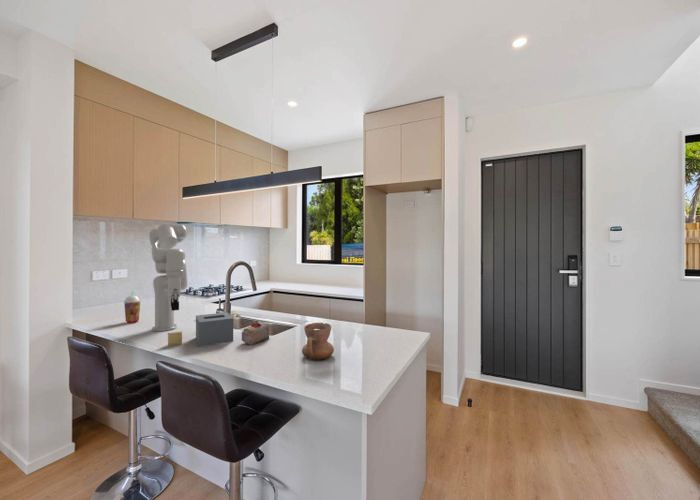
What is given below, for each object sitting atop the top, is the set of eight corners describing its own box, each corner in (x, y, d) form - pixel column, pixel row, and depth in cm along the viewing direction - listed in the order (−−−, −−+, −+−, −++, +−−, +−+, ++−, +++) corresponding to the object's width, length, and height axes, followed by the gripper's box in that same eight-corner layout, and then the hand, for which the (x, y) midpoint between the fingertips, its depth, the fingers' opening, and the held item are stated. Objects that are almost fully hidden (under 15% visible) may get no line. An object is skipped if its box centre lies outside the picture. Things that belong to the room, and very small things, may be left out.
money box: (195, 337, 161) (195, 315, 161) (227, 333, 170) (227, 312, 170) (199, 346, 148) (199, 322, 148) (233, 341, 156) (233, 318, 156)
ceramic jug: (313, 348, 147) (312, 319, 147) (340, 352, 142) (339, 322, 141) (293, 362, 131) (292, 330, 130) (322, 367, 125) (322, 333, 125)
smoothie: (120, 323, 187) (120, 291, 186) (132, 320, 195) (132, 289, 194) (132, 324, 185) (132, 292, 185) (143, 321, 193) (143, 290, 193)
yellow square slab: (167, 345, 149) (167, 333, 149) (181, 343, 152) (181, 331, 152) (168, 346, 147) (168, 334, 147) (181, 344, 151) (181, 332, 151)
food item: (251, 346, 149) (251, 326, 149) (240, 343, 153) (240, 324, 152) (270, 339, 161) (270, 320, 161) (259, 336, 165) (259, 318, 164)
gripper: (165, 272, 154) (165, 305, 155) (166, 276, 140) (166, 312, 140) (182, 272, 158) (182, 304, 159) (184, 275, 144) (184, 310, 144)
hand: (174, 308), depth 149 cm, fingers open, 9 cm apart
